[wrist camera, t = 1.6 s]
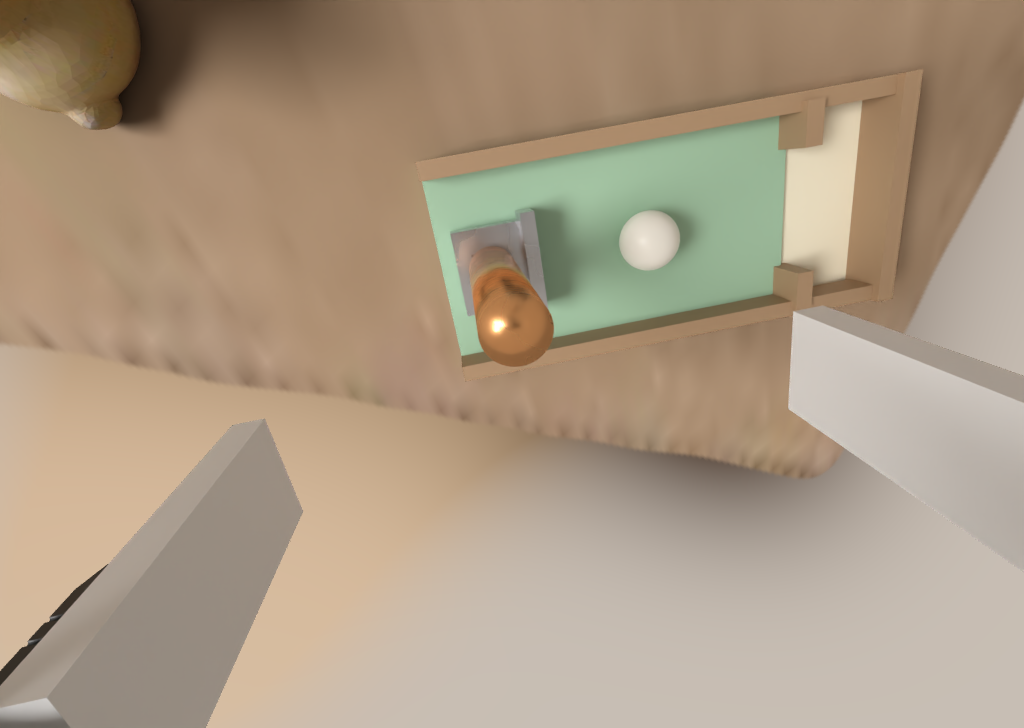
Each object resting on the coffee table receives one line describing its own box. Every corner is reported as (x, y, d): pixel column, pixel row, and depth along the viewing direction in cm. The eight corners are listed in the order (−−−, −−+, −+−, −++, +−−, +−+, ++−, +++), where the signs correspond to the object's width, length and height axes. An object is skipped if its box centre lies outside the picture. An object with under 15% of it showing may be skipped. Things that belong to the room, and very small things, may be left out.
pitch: (419, 163, 29) (414, 161, 25) (869, 80, 30) (923, 68, 26) (464, 363, 34) (465, 384, 30) (849, 286, 35) (892, 298, 31)
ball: (609, 213, 30) (628, 218, 27) (664, 203, 30) (689, 207, 27) (614, 269, 31) (632, 280, 28) (666, 259, 31) (691, 269, 28)
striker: (448, 222, 29) (443, 259, 16) (527, 208, 29) (581, 233, 17) (468, 318, 31) (478, 413, 19) (542, 304, 31) (599, 389, 19)
